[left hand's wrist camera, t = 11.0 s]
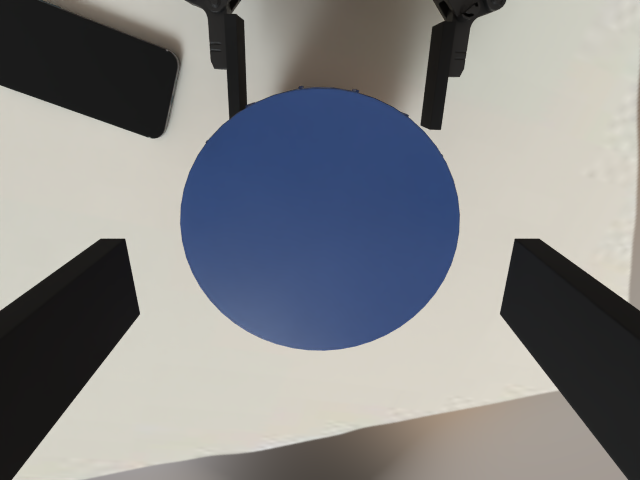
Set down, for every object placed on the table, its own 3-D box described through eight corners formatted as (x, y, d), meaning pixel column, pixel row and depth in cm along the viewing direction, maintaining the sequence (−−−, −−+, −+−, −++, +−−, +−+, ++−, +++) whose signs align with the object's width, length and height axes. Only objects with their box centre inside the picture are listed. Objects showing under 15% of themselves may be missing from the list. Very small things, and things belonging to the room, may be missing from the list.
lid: (213, 325, 20) (200, 355, 18) (175, 90, 16) (153, 92, 14) (433, 319, 20) (447, 348, 18) (453, 80, 16) (475, 80, 14)
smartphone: (161, 142, 34) (-25, 77, 32) (164, 141, 34) (-18, 77, 32) (180, 54, 31) (-21, -24, 29) (183, 54, 32) (-14, -22, 30)
